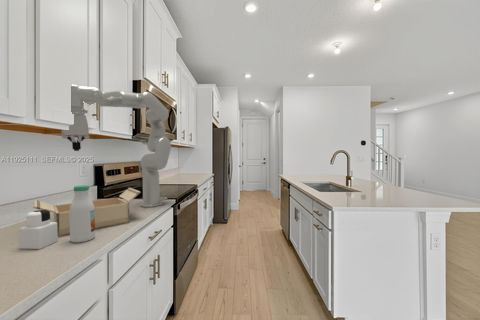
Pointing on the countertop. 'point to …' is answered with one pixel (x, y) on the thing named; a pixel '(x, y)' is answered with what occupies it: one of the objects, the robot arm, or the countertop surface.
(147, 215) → the countertop surface
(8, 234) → the countertop surface
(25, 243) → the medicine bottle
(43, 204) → the flap
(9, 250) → the countertop surface
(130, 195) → the flap
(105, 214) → the carton
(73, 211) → the milk bottle
